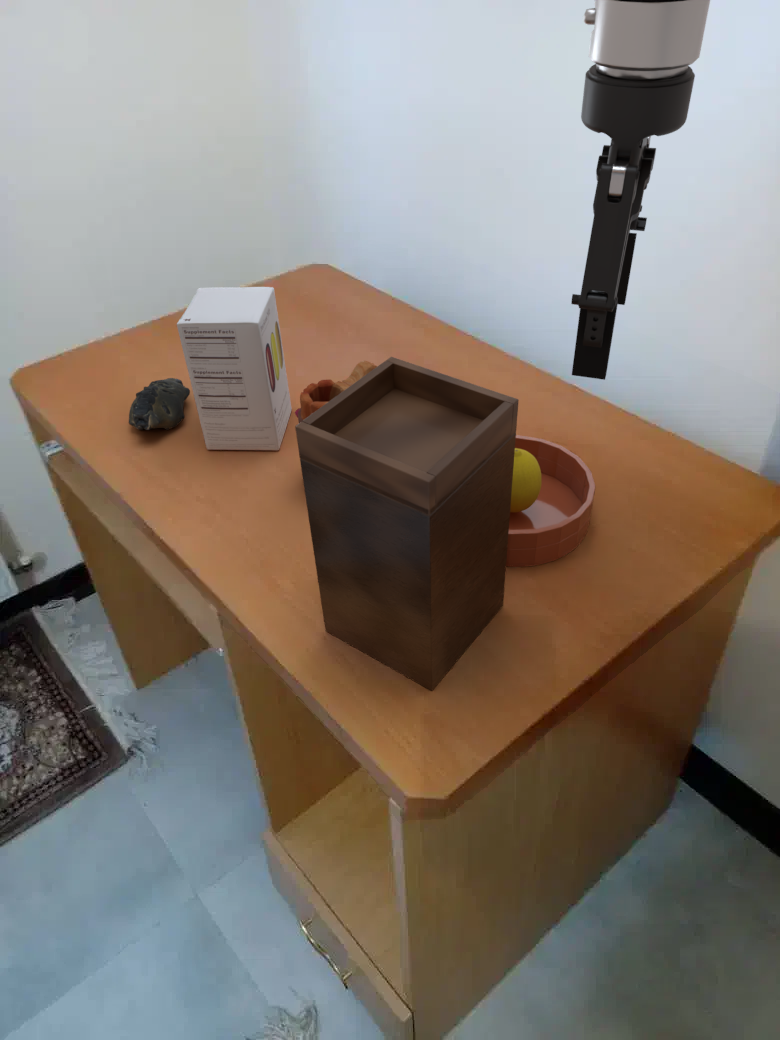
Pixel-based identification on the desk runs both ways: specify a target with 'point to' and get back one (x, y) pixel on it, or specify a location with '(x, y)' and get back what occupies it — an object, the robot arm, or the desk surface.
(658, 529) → the desk surface
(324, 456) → the tray
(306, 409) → the mug
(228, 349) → the supplement box
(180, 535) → the desk surface
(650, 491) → the desk surface
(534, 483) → the lemon
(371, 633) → the stand
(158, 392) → the stone
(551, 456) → the bowl
